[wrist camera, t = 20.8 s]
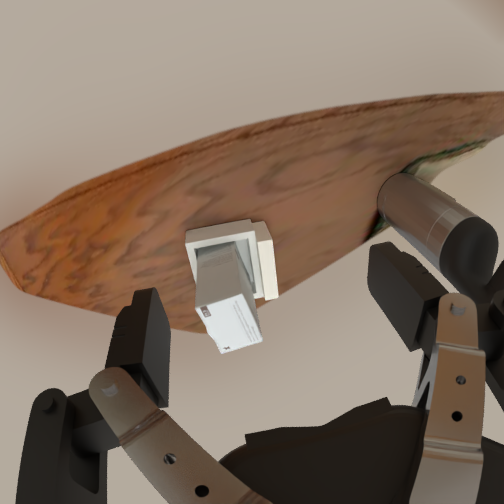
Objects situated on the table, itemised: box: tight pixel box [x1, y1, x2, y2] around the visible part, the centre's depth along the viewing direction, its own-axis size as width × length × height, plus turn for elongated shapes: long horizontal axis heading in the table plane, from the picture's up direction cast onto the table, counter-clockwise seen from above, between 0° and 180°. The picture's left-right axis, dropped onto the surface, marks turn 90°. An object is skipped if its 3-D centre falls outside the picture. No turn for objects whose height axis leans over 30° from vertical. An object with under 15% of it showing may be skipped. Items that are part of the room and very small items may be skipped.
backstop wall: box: [252, 221, 279, 300], centre depth 48 cm, size 2×10×6 cm, turn 7°
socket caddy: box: [185, 219, 264, 299], centre depth 49 cm, size 10×12×4 cm
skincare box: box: [195, 241, 263, 354], centre depth 43 cm, size 8×6×15 cm
